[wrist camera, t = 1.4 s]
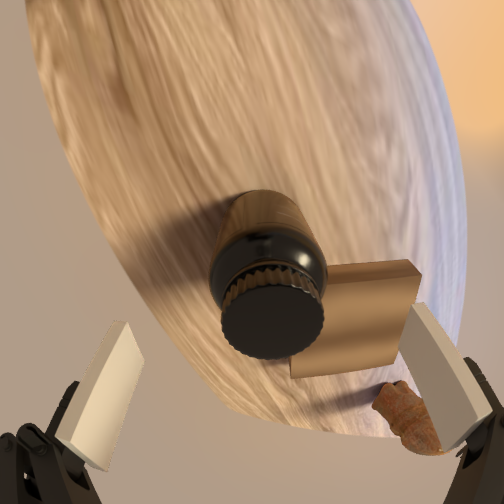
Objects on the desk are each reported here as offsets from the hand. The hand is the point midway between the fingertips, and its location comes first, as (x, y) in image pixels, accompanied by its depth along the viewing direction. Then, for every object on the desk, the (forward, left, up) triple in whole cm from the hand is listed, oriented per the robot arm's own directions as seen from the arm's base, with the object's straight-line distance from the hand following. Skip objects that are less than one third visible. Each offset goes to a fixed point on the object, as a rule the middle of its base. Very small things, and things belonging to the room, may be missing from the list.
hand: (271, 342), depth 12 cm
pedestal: (+10, +8, -13) cm, 18 cm away
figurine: (+25, +19, -13) cm, 34 cm away
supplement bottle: (0, 0, -13) cm, 13 cm away
